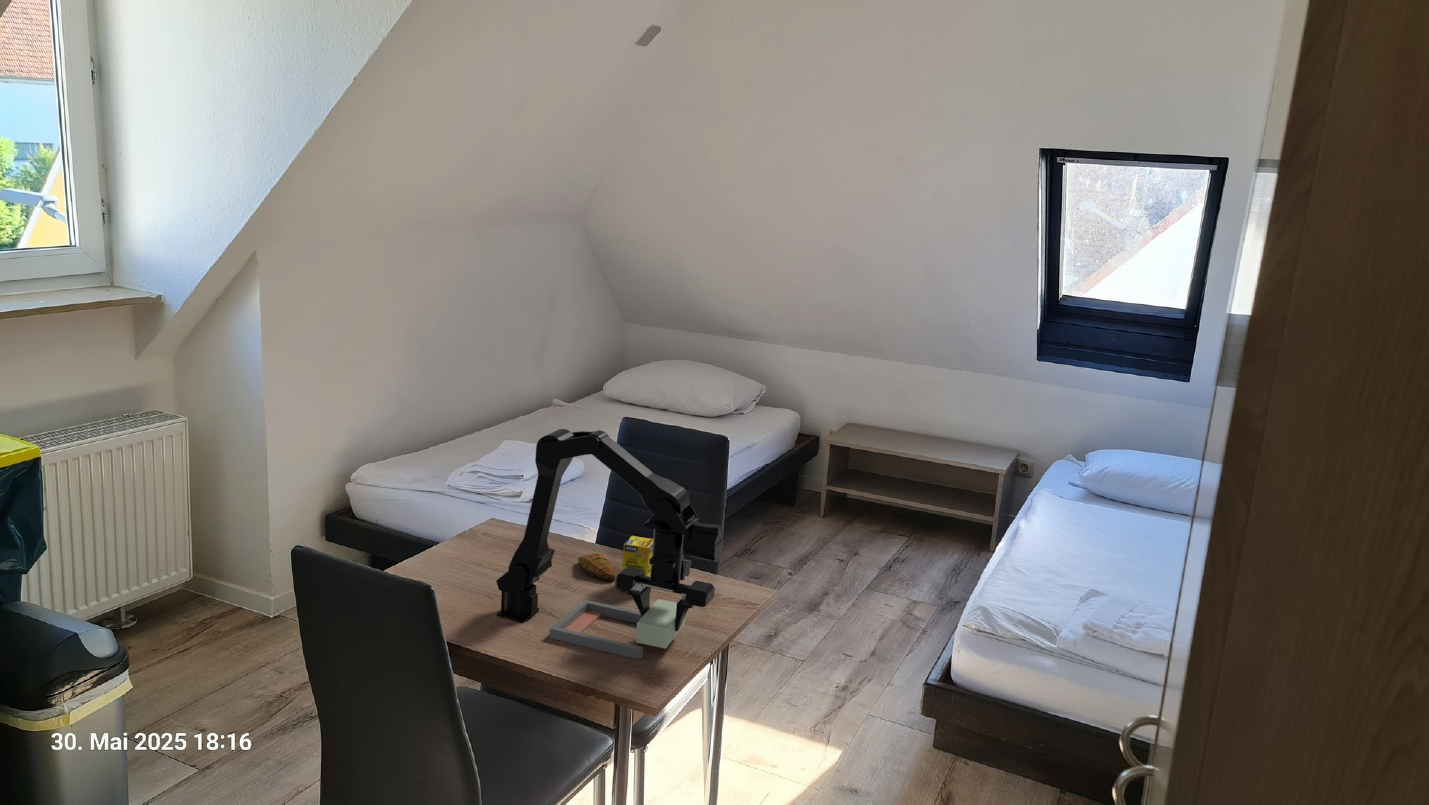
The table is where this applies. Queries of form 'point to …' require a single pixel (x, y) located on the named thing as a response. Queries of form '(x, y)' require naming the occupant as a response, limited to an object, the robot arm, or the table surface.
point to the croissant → (597, 566)
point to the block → (658, 624)
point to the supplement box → (638, 554)
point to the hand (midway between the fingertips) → (661, 627)
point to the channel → (584, 617)
